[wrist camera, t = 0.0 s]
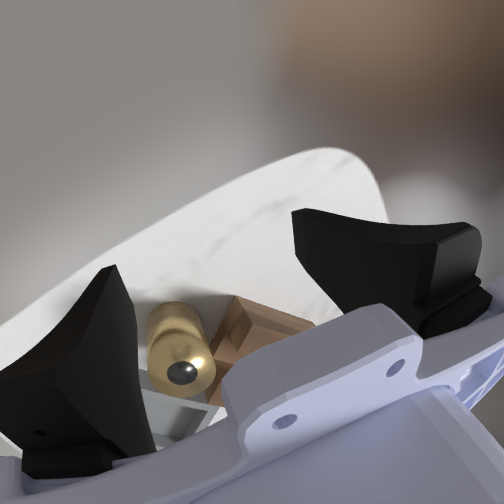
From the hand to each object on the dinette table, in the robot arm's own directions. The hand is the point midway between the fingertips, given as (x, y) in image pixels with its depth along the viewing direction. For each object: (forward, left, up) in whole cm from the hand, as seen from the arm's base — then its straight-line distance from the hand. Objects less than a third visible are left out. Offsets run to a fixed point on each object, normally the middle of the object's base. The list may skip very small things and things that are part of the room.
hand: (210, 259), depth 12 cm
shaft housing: (-8, -10, -11) cm, 17 cm away
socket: (-18, -5, -11) cm, 21 cm away
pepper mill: (-9, -3, -11) cm, 14 cm away
